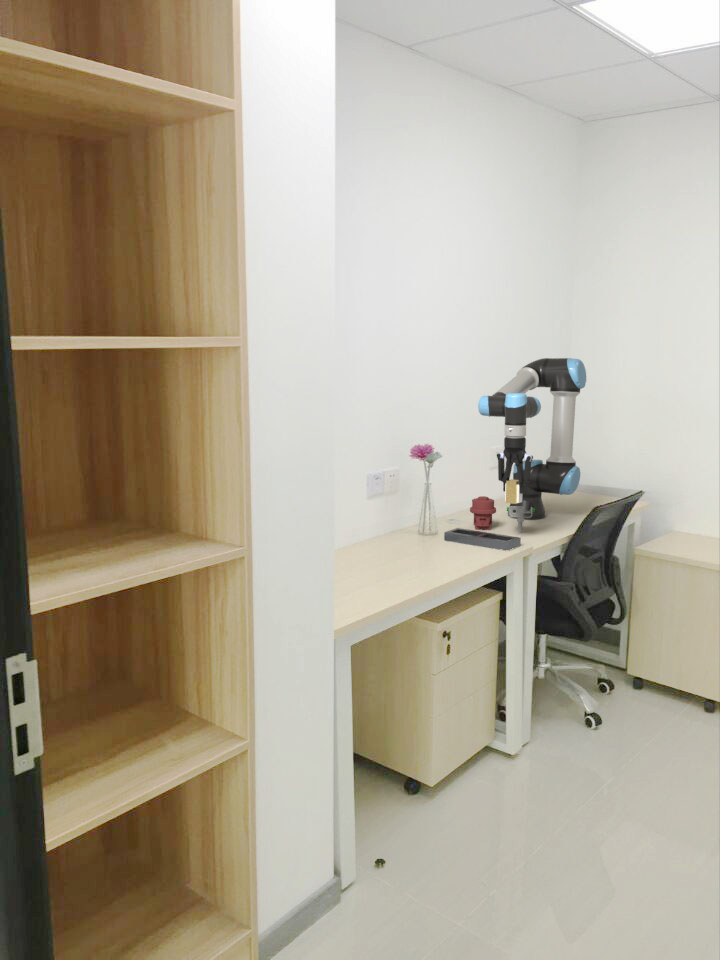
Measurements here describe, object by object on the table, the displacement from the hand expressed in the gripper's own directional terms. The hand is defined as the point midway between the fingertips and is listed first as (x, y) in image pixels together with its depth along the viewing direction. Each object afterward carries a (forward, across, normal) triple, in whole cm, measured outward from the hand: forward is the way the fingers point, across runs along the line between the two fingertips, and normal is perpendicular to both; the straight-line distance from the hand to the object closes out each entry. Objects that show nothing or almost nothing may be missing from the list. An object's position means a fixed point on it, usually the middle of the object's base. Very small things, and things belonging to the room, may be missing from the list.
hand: (513, 501), depth 301 cm
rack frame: (+14, -7, -10) cm, 19 cm away
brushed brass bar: (0, 0, 0) cm, 0 cm away
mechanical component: (+15, -4, +13) cm, 20 cm away
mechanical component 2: (+15, -19, +11) cm, 26 cm away
